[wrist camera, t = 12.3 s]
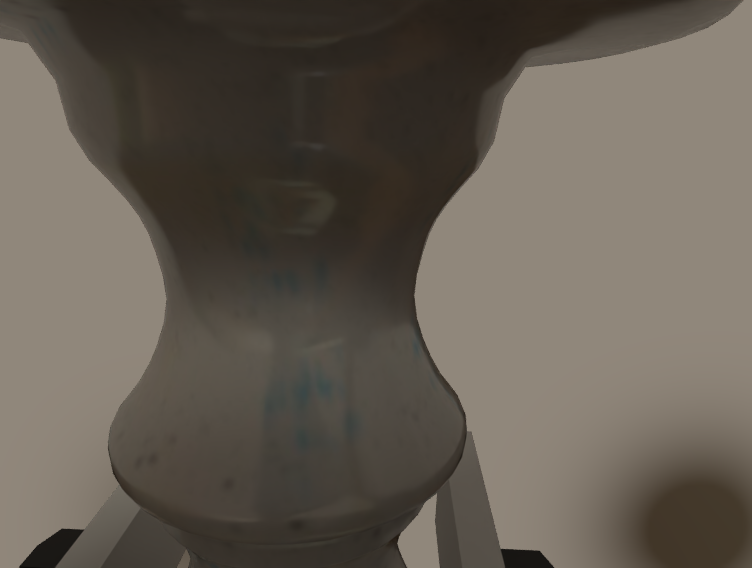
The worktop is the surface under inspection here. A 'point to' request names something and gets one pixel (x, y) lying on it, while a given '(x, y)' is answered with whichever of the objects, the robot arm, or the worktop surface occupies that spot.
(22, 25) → the candle holder
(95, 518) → the robot arm
